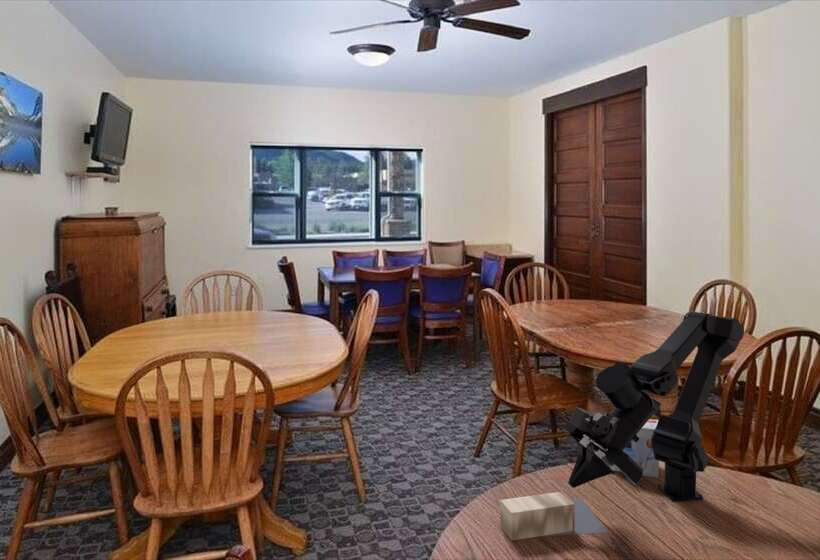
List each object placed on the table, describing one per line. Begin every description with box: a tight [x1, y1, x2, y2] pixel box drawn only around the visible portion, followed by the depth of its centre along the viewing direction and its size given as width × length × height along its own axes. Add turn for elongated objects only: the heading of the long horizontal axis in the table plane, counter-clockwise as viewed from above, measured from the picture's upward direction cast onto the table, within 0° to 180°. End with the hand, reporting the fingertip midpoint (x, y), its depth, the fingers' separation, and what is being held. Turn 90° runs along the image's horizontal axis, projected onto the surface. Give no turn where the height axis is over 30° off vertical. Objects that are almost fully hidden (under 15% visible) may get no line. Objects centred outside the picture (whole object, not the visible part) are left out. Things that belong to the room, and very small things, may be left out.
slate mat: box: [543, 498, 608, 537], centre depth 112 cm, size 13×16×1 cm
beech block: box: [499, 491, 575, 541], centre depth 107 cm, size 5×5×12 cm
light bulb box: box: [613, 418, 660, 478], centre depth 132 cm, size 11×7×11 cm, turn 70°
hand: (570, 485), depth 108 cm, fingers closed
